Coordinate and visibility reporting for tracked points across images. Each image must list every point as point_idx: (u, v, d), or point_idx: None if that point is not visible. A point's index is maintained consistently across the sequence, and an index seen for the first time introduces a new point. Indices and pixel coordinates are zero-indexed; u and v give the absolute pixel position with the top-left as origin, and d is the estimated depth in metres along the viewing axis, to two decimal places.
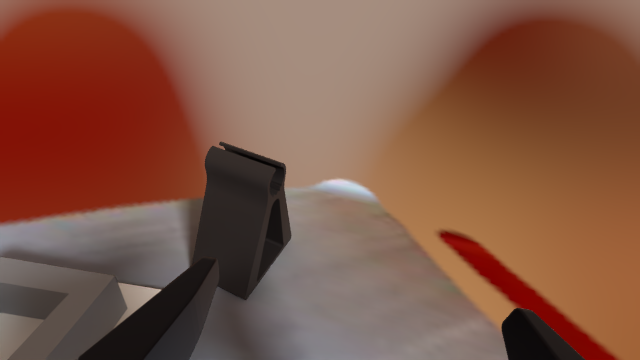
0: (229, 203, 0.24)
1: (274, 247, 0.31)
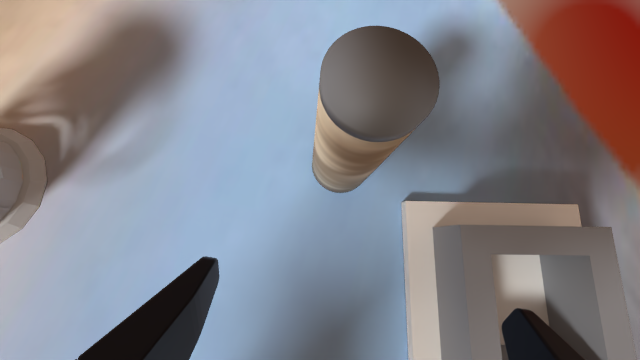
0: None
1: None
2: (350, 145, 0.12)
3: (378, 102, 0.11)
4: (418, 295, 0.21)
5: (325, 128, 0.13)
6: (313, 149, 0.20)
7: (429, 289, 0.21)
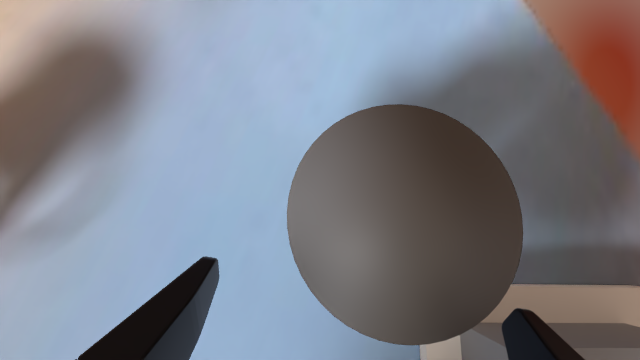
0: None
1: None
2: None
3: (403, 269, 0.05)
4: None
5: None
6: None
7: None
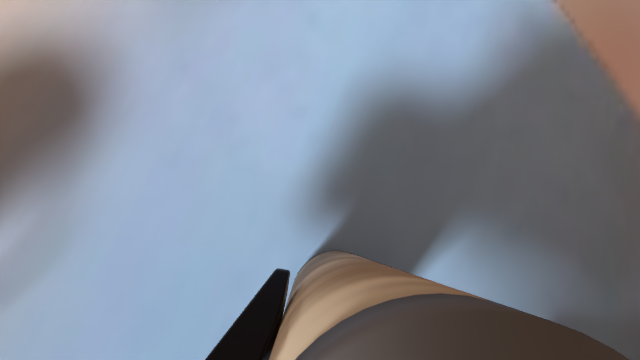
0: None
1: None
2: None
3: None
4: None
5: None
6: None
7: None
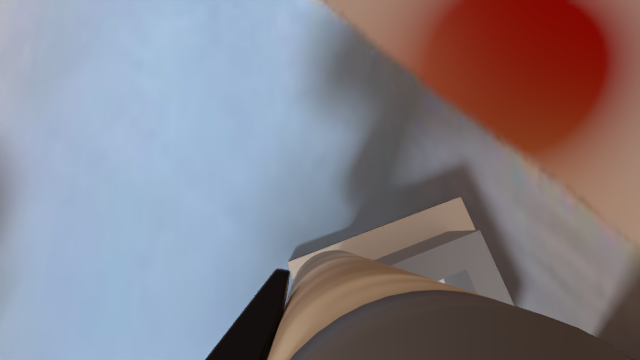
0: None
1: None
2: None
3: None
4: None
5: None
6: None
7: None
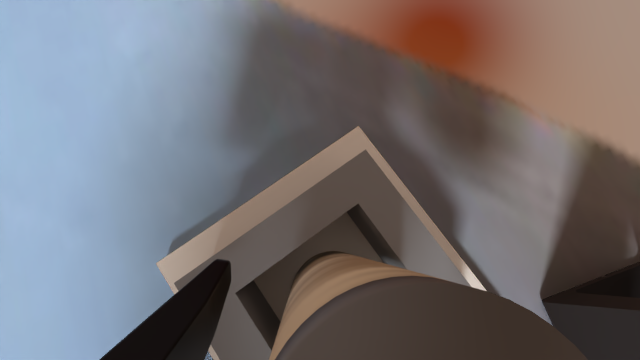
0: None
1: None
2: None
3: None
4: None
5: None
6: None
7: None
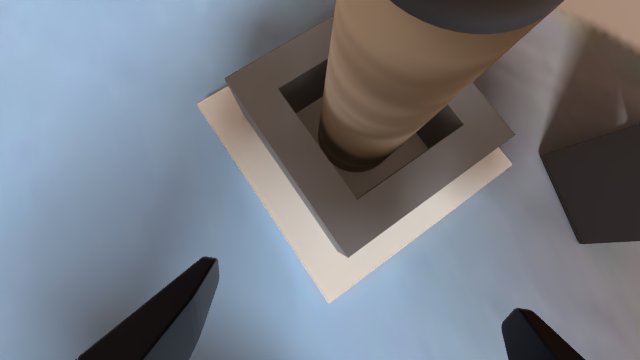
0: None
1: None
2: (405, 55, 0.06)
3: None
4: (267, 192, 0.17)
5: (353, 27, 0.07)
6: None
7: (275, 178, 0.17)
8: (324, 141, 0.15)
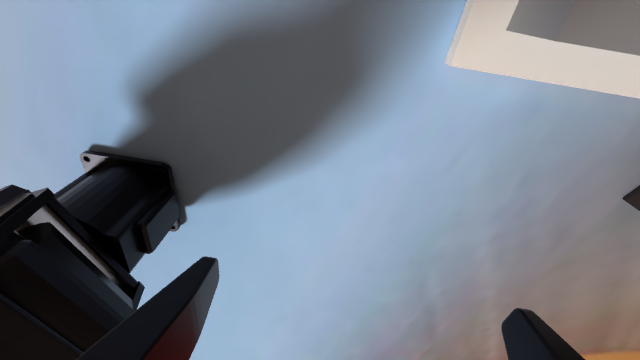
0: None
1: None
2: None
3: None
4: None
5: None
6: None
7: None
8: None
